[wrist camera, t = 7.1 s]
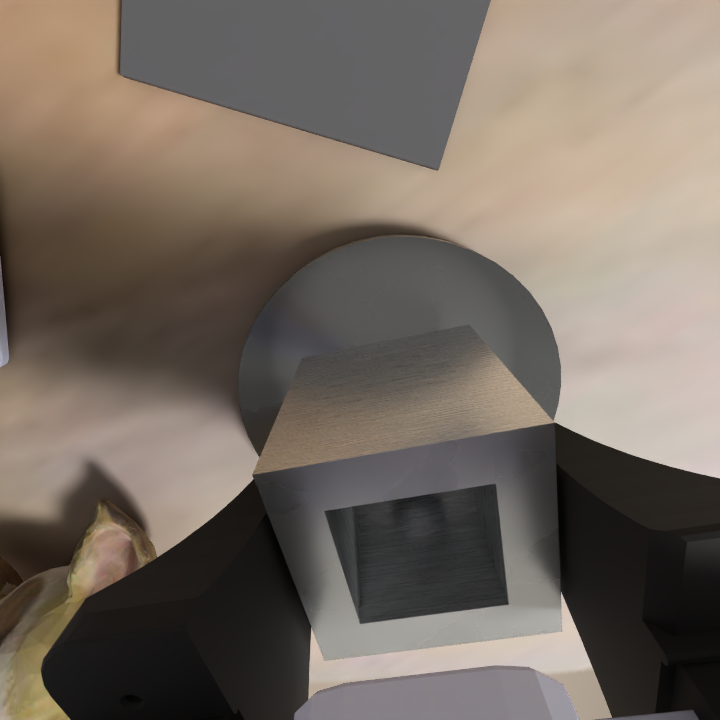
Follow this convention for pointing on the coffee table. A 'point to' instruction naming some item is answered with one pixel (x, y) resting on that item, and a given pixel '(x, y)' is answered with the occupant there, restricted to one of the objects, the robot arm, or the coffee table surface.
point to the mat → (315, 64)
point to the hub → (392, 317)
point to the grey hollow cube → (415, 497)
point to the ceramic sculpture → (59, 607)
